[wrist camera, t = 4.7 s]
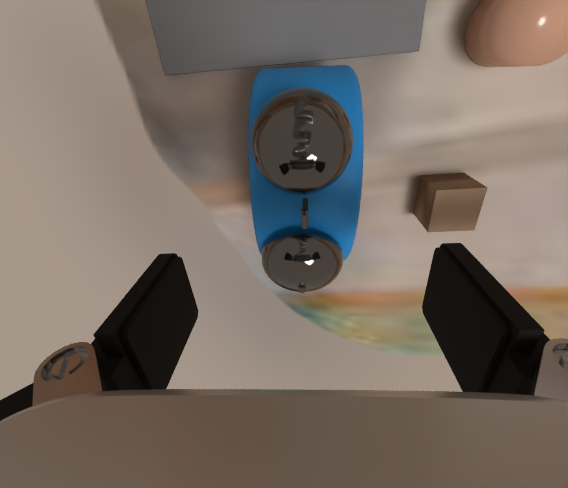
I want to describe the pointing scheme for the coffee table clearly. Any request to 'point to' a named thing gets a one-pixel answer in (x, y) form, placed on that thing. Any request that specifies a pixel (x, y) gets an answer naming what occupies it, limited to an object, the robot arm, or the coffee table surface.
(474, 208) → the walnut block
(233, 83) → the coffee table surface
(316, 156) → the alarm clock
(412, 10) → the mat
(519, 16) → the tan egg shape
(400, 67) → the coffee table surface
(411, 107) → the coffee table surface
